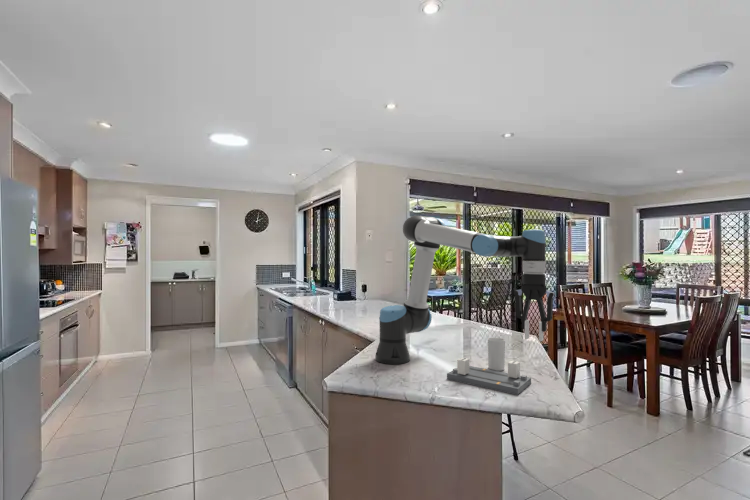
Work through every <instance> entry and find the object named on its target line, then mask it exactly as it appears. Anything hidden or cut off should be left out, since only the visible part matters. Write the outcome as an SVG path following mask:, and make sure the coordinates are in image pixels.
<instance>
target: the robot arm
mask: <svg viewBox="0 0 750 500" xmlns="http://www.w3.org/2000/svg"><path fill="white" fill-rule="evenodd" d="M402 232H403V235H404V237H405V238H406V239H407V240H409V241H410V242H414V243H413V245H414V247H415V249H416V250H415V255H414V261H413V262H414V263H413V267H412V273H411V280H410V285H409V290H408V291H409V292H408V297H407V299H406V300H404V301H403V305H401V304H399V305H398V304H396V305H388V306H384V307H382V308H381V309H380V311H379V343H378V345H377V348H376V353H375V354H374V355H375V361H376V362H377V363H381V364H385V365H401V364H407V363H408V362H410V358H411V357H410V353H409V349H408V346H407V342H406V341H407V337H406V336H407V334H412V333H420V332H423V331H426V329H428V328H429V327H430V325H431V323H432V313H431V310H430V309H429V308H430V305H429V304H428V302H427V300H428V294H429V289H430V282H431V279H432V272H433V267H434V261H435V255H436V252H437V251H438V250H439V249H440V247H441V246H443V247H449V248H454V249H456V250H462V251H466V252H470V253H473V254H476V255H477V256H480V257H487V258H488V257H500V258H501V257H502V258H505V257H507V258H508V257H513V258H514V257H521V258H522V272H523V274H522V286H521V288H520V289H516V290H514V291H513V294H514V296H515V314H516V318H518V319H519V320H521V328H522V330H524V340H529V339H530V320H529V319H528V317H529V316H528V315H529V311H530V306H531V302H532V300H534V301H536V304H537V307H538V311H539V316H540V321H539V322H538V328H539V329H538V331H539V332H538V341H539V342H543V341H544V333H545V332H547V322H550V321H553V311H554V310H553V309H554V298H555V296H556V295H555V294H556V292H554V291H553V292H552V291H550V290H548V289H547V286H546V281H547V280H546V274H545V273H546V268H547V267H546V245H547V244H546V243H547V241H546V233H545V231H544V230H542V229H525V230H523V231H522V234H521V235H519V236H518V235H516V236H515V235H513V236H511V235H510V236H508V235H507V236H506V235H494V234H487V233H481V232H477V231H471V230H467V229H462V228H456V227H451V226H447V225H446V224H445V222H444V220H442V219H440V218H438V217H434V216H424V215H417V214H416V215H412V216H409V217H408V218H407V219H406V220H405V221H404V222H403V225H402ZM522 295H524V296H525V299H524V305H523V304H522ZM545 295H546V298H547V300H546V301H547V303H546V307H547V310H546V309H545V305H544V301H543V297H544V296H545ZM522 305H523V306H522ZM522 308H523V309H522ZM522 310H523V311H522Z"/></svg>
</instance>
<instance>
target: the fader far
mask: <svg viewBox="0 0 750 500" xmlns="http://www.w3.org/2000/svg"><path fill="white" fill-rule="evenodd" d="M507 373H508V377H512V378H518V377H519V376H521V361H517V360H510V361H508V362H507Z"/></svg>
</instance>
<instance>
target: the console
mask: <svg viewBox="0 0 750 500" xmlns="http://www.w3.org/2000/svg"><path fill="white" fill-rule="evenodd" d="M446 380H450V381H454V382H460V383H464V384H468V385H473V386H477V387H481V388H486V389H491V390H494V391H498V390H499V392H504V393H507V392H508V393H509V394H512V393H513V395H516V394H517V395H516V396H519V393H520V394H521V393H522V392H524V390H526V388H528V387H529V386H530V385H531V384H532V377H529V376H528V375H524V374H522V375H520V376H519V377H518V378H512V377H508V372H503V371H495V370H491V369H489V368H484V367H483V368H482V367H477V366H474V365H470V369H469V373H467V374H466V375H463V374H458V373H457V368H453V369H452V370H451V371H448V372H447V373H446Z"/></svg>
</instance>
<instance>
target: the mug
mask: <svg viewBox="0 0 750 500" xmlns="http://www.w3.org/2000/svg"><path fill="white" fill-rule="evenodd" d="M505 355H506V339H504V338H501V337H488V338H487V361H488V362H487V363H488V368H487V369H489V370H494V371H499V372H503V371H504V370H505V362H506V361H505V360H506V359H505V358H506V357H505Z"/></svg>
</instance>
